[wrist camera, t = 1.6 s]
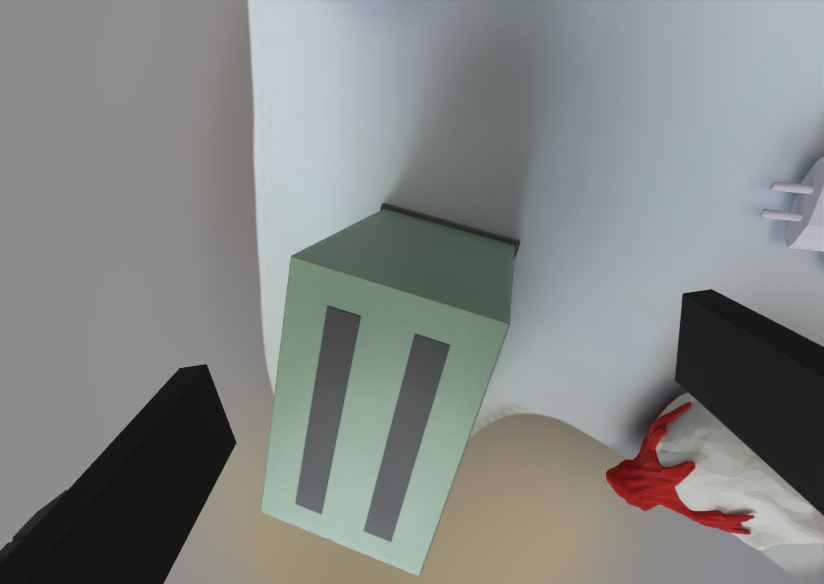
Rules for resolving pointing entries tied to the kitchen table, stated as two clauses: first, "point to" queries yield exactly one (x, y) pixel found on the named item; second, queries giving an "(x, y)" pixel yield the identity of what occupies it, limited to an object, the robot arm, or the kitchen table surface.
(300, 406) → the toaster
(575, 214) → the kitchen table surface
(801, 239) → the charger
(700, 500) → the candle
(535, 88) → the kitchen table surface
